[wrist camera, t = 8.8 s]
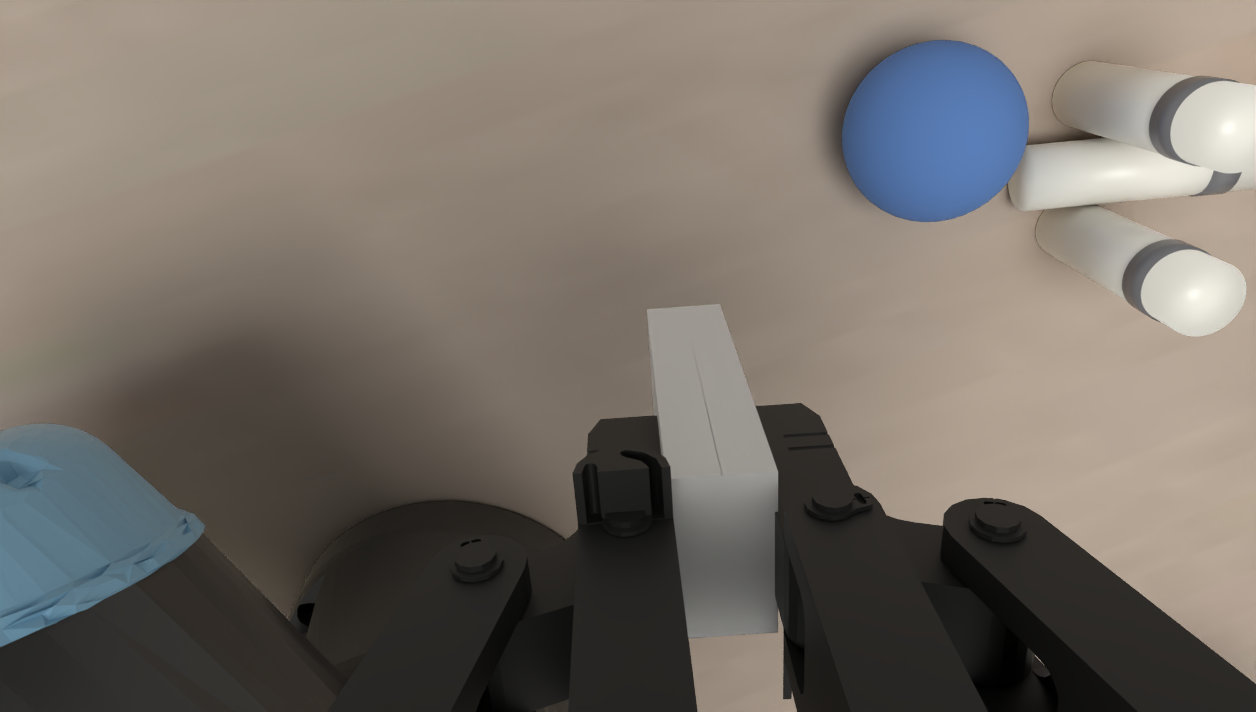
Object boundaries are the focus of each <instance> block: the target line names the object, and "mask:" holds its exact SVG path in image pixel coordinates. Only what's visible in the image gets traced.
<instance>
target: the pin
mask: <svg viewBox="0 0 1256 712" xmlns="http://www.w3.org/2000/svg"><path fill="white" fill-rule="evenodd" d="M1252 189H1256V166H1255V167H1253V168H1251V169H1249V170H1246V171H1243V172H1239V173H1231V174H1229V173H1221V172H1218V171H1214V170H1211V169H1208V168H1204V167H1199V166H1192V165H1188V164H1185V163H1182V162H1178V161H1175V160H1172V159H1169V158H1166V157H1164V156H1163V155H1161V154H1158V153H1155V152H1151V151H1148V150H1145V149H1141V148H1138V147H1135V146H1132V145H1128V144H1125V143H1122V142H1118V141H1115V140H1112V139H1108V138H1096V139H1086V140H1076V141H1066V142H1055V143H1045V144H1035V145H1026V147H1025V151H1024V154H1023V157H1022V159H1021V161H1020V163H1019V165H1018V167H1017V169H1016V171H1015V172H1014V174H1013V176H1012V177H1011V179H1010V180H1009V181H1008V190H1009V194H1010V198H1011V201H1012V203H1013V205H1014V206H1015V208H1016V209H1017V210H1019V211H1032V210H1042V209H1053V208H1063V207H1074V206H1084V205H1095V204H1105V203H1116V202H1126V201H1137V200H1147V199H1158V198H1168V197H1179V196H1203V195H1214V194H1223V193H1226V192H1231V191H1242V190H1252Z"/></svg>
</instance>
